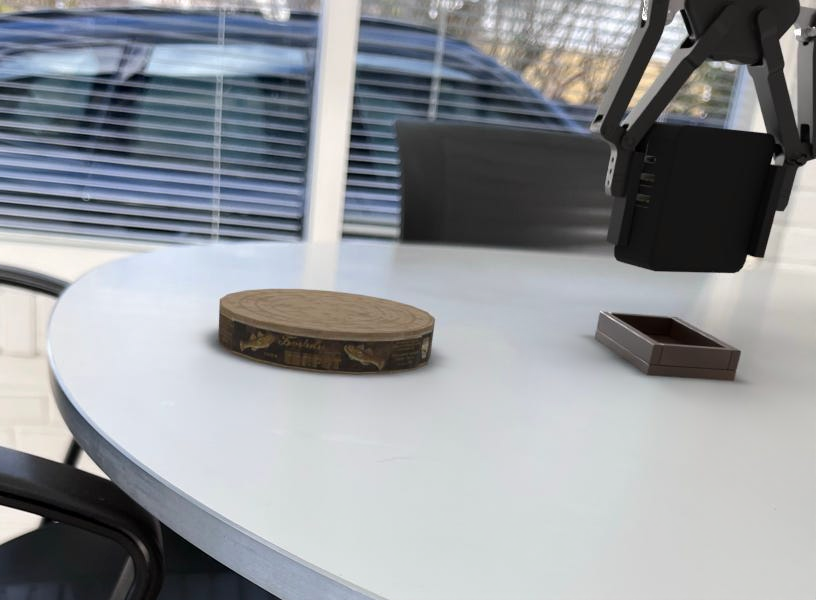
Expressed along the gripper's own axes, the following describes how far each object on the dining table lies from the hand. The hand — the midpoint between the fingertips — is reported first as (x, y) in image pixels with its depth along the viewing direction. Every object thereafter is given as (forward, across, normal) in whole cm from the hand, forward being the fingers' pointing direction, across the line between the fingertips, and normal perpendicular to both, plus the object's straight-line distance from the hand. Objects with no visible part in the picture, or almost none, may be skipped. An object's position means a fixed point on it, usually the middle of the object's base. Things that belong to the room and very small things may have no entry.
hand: (684, 249), depth 83 cm
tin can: (+9, -28, -4) cm, 30 cm away
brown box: (+9, 0, 0) cm, 9 cm away
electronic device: (+2, 0, 0) cm, 2 cm away
